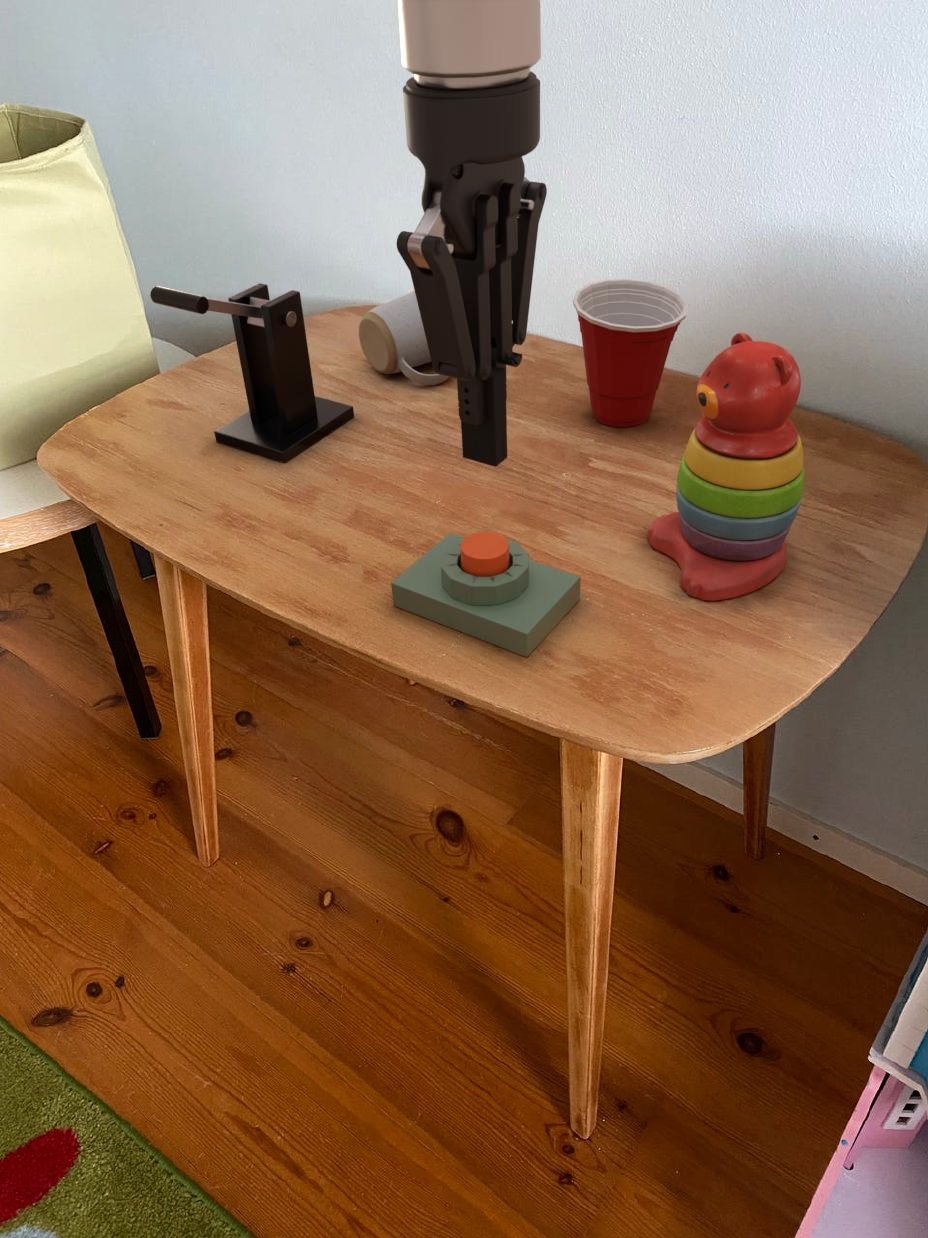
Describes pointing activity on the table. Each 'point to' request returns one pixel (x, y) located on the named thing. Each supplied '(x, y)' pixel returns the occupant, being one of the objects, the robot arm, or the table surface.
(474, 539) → the button
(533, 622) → the control block
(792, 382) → the stacking bear
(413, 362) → the ceramic mug
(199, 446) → the table surface
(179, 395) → the table surface
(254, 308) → the lever
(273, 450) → the bracket
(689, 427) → the table surface
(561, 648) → the table surface
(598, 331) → the plastic cup
